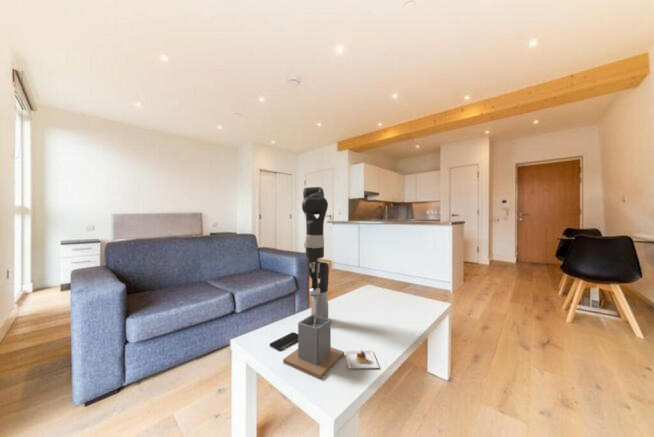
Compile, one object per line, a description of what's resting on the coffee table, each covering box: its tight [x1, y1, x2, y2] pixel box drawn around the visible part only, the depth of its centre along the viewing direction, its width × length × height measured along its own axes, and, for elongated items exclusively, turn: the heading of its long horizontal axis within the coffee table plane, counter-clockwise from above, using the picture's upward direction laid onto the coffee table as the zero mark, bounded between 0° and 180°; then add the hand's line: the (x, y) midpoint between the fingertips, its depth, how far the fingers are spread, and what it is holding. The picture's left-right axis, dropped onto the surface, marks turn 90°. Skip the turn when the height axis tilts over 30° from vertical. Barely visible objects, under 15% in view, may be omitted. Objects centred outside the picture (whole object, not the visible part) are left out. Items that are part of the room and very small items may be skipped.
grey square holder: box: [282, 315, 345, 380], centre depth 98 cm, size 18×18×16 cm
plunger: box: [309, 287, 321, 328], centre depth 98 cm, size 8×8×17 cm
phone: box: [269, 332, 298, 352], centre depth 111 cm, size 8×1×15 cm
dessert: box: [344, 349, 380, 370], centre depth 97 cm, size 12×12×5 cm
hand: (314, 287), depth 98 cm, fingers closed
